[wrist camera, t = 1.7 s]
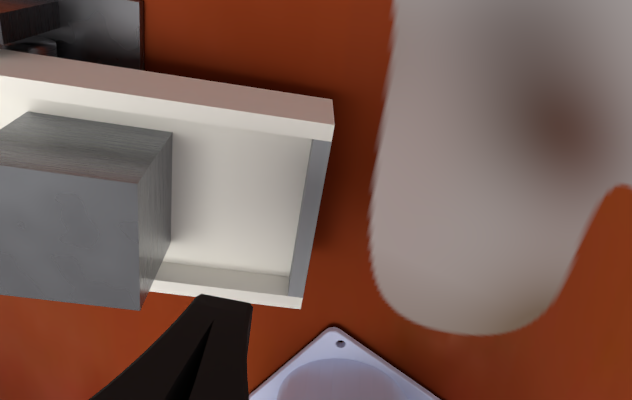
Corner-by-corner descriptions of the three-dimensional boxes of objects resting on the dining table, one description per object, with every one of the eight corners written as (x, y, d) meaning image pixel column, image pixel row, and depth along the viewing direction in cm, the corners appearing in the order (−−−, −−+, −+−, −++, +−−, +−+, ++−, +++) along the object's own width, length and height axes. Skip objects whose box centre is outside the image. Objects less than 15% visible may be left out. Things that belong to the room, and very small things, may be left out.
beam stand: (143, 0, 19) (94, 15, 16) (146, 253, 25) (111, 303, 22) (-59, -37, 19) (-150, -30, 16) (-9, 223, 25) (-67, 268, 22)
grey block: (172, 132, 18) (137, 183, 14) (170, 242, 20) (140, 310, 16) (27, 111, 17) (-46, 159, 14) (42, 226, 20) (-17, 292, 16)
